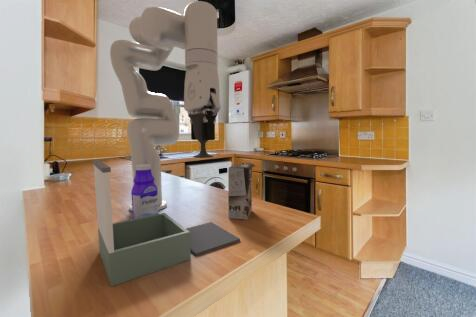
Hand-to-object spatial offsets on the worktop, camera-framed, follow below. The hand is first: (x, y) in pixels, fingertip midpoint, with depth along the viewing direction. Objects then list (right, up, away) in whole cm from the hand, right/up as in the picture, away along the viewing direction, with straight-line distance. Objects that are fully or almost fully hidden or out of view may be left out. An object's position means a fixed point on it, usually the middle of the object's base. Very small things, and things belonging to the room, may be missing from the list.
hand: (202, 139), depth 58 cm
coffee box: (+10, -23, +20) cm, 32 cm away
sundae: (0, -5, +1) cm, 5 cm away
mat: (0, -25, +3) cm, 25 cm away
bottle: (-19, -24, +13) cm, 33 cm away
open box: (-12, -26, -6) cm, 29 cm away
